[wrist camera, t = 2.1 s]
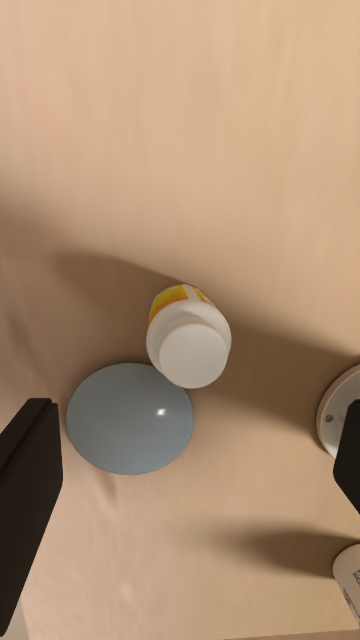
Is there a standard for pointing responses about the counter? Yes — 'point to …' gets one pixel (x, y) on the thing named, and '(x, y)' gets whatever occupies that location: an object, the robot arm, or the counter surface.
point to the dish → (129, 419)
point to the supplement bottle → (187, 337)
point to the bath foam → (349, 577)
